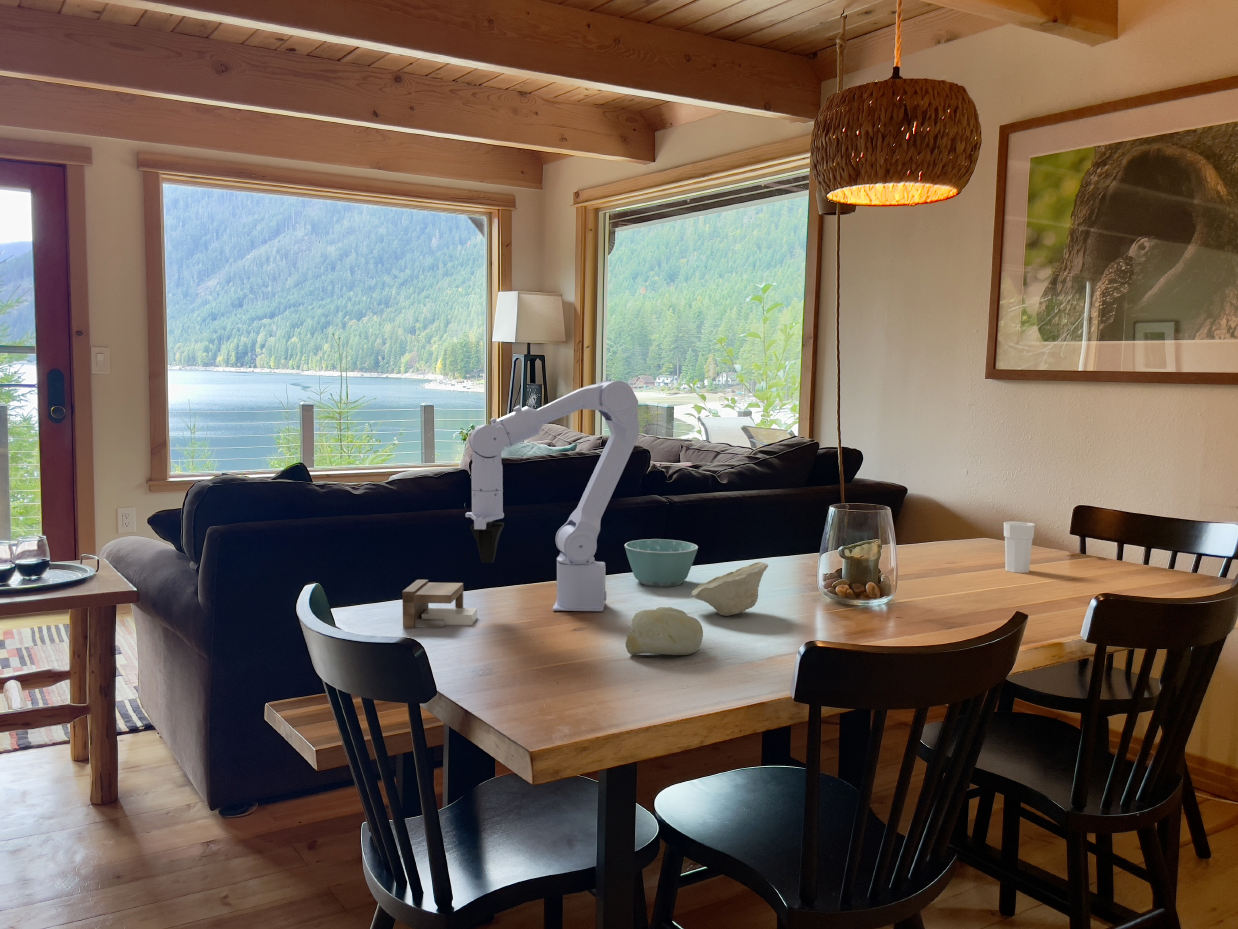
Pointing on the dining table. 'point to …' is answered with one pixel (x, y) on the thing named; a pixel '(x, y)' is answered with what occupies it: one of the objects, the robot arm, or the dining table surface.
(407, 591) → the shelf
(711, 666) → the dining table surface
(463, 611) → the tile
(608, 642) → the dining table surface
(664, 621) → the smooth beige rock
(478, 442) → the robot arm
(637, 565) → the bowl
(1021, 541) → the cup
